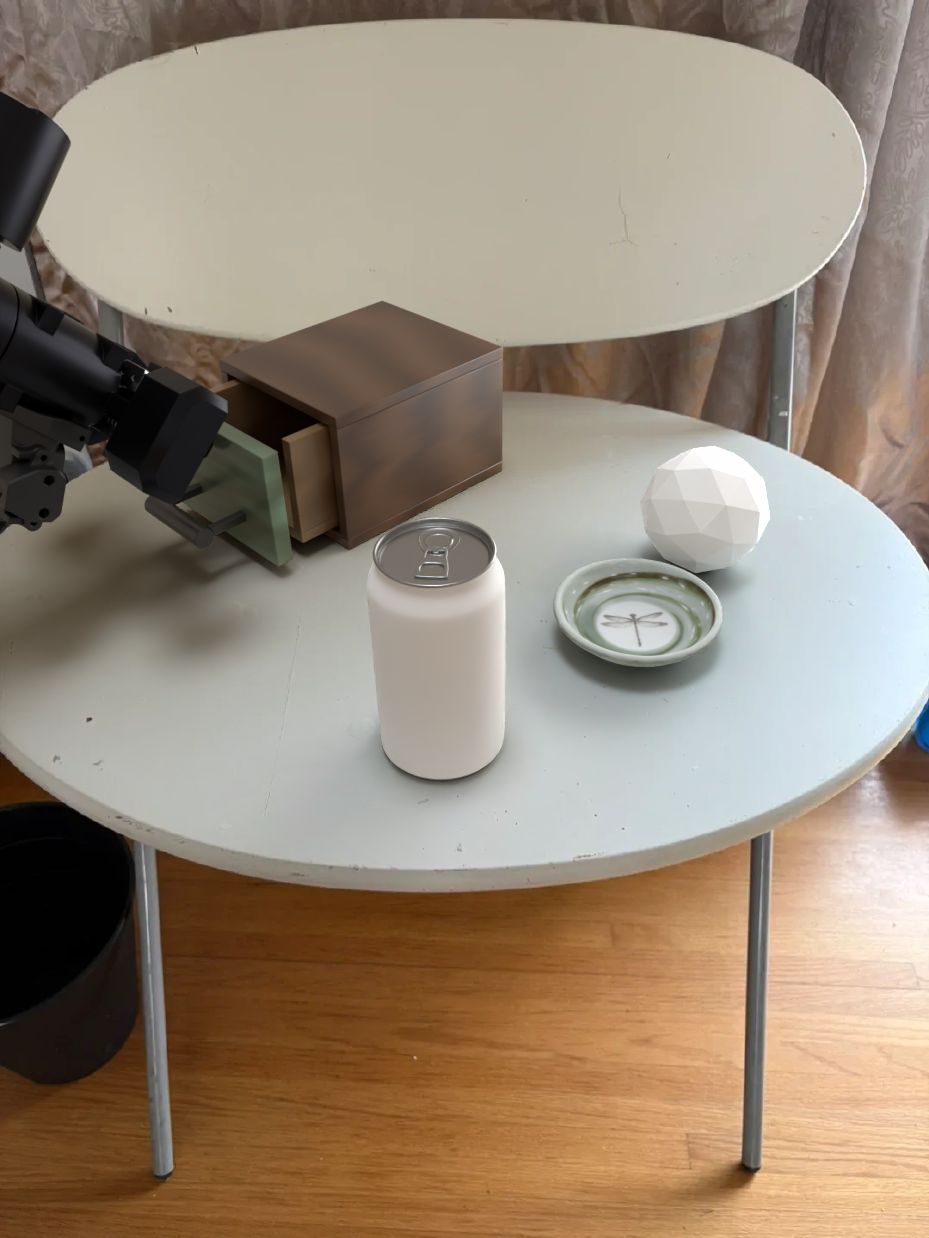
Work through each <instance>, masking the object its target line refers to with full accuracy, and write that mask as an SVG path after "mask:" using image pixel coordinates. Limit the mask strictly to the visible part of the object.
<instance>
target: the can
mask: <svg viewBox="0 0 929 1238" xmlns="http://www.w3.org/2000/svg"><path fill="white" fill-rule="evenodd" d="M372 559H373V561H372V563H371V565H370V568H369V570H368V573H367V578H366V597H367V608H368V620H369V630H370V640H371V651H372V662H373V674H374V683H375V692H376V693H375V695H376V703H377V713H378V714H377V715H378V721H379V723H378V724H379V731H380V733H379V734H380V739H381V745H382V748H383V751H384V753H385V755H386V756H387V758H388V759H389V760H390V761H391V762H392V763H393V764H394V765H395V766H397V768H399V769H401V770H403V771H404V772H406V773H408V774H410V775H412V776H414V777H417V778H419V779H425V780H430V781H452V780H458V779H462V778H465V777H468V776H471V775H473V774H475V773H476V772H479V771H480V770H482V769H483V768H485V767H486V766H487V765H489V764H490V763H491V762H492V761H493V760H494V759H495V758H496V757H497V756H498V754H499V753H500V751H501V749H502V747H503V744H504V740H505V726H506V725H505V724H506V576H505V572H504V568H503V566H502V563H501V562H500V560H499V559H498V556H497V546H496V543H495V540H494V538H493V537H492V536H491V535H490V534H489V532H487V531H486V530H485V529H483V528H482V527H480V526H479V525H477V524H474V523H472V522H470V521H467V520H463V519H460V518H453V517H445V516H443V517H442V516H434V517H433V516H431V517H421V518H416V519H412V520H408V521H404V522H401V523H399V524H397V525H396V526H394V527H392V528H390V529H388V530H386V531H384V532H383V534H382V535H381V536H379V538H378V540H377V541H376V542H375V543H374V546H373V549H372Z"/></svg>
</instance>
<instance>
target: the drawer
mask: <svg viewBox="0 0 929 1238" xmlns="http://www.w3.org/2000/svg"><path fill="white" fill-rule="evenodd" d="M207 389H208V390H210V391H212V392H214V393H215V394H217V395H219V396H220V397H222V398H224V399H225V400H227V404H228V415H227V417H226V418H225V420H224V422H223V424H222V426H221V428H220V429H219V431H218V433H217V435H216V437H215V439H214V440H213V447H212V449H211V451H210V452H209V454H208V456H207V457H206V458H204V459H203V461H202V463H201V464H200V466H199V468H198V470H197V472H196V474H195V475H194V477H193V479H192V481H191V483H190V485H189V486H188V488H187V490H186V492H185V494H184V496H183V497H182V499H181V500H179V501H177V502H175V503H173V504H171V505H170V504H168V503H165V502H163V501H161V500H159V499H156V498H154V497H152V496H150V495H148V496H147V497H146V498H145V500H144V505H143V506H144V510H145V512H146V513H148V514H149V515H151V516H152V517H153V518H155V519H157V520H158V521H159V522H161V523H162V524H163V525H165V526H166V527H168V528H169V529H171V530H172V531H173V532H174V533H176V534H178V535H179V536H181V537H182V538H183V539H185V540H187V542H189V543H190V544H192V545H193V546H195V547H196V548H198V549H200V550H201V549H203V550H204V549H207V548H209V547H210V546H211V545H212V544H213V542H214V540H215V537H216V536H218V535H220V534H222V533H224V532H225V533H227V534H228V535H230V536H232V537H234V538H235V539H236V540H238V541H239V542H241V544H244V545H245V546H246V547H248V548H249V549H251V550H253V551H254V552H256V553H257V554H259V555H260V556H262V557H263V558H264V559H266V560H268V561H269V562H271V563H272V564H273V565H275V566H277V567H281V566H283V565H285V564H288V563H289V562H291V561H293V560H294V555H293V550H292V542H291V537H292V538H294V539H296V540H297V541H299V542H300V543H303V544H304V543H306V542H308V541H310V540H312V539H314V538H316V537H318V536H320V535H323V533H324V532H326V531H328V530H330V529H332V528H334V527H336V526H338V525H340V522H339V513H338V504H337V494H336V485H335V476H334V467H333V457H332V448H331V439H330V430H329V425H327V424H325V423H323V422H321V421H319V420H317V419H315V418H313V417H311V416H309V415H307V414H305V413H304V412H302V411H300V410H298V409H296V408H294V407H292V406H290V405H288V404H286V403H284V402H282V401H280V400H278V399H276V398H274V397H272V396H270V395H269V394H267V393H265V392H263V391H261V390H259V389H257V388H255V387H253V386H251V385H249V384H247V383H245V382H243V381H241V380H239V379H234V380H232V381H229V382H226V383H224V384H223V383H221V384H218V385H215V386H214V387H211V388H207ZM181 503H182V504H183V505H185V506H186V507H188V508H189V509H191V510H193V511H194V512H196V513H197V514H198V515H200V516H202V517H203V518H204V519H207V520H208V521H209V522H211V523H209V524H208V525H206V524H205V523H203V522H202V521H200V520H199V519H197V518H195V516H192V515H191V514H190V513H189V512H187V511H185V510H184V509H183V508H181V507H179V506H178V504H181Z"/></svg>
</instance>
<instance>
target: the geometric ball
mask: <svg viewBox="0 0 929 1238" xmlns="http://www.w3.org/2000/svg"><path fill="white" fill-rule="evenodd" d="M640 509H641V514H642V521H643V527H644V531H645V534H646V535H647V538H648V540H649V541H650V542H651V543H652V545H653V546H654V547H655V549H656V550H657V552H658V553H659V554H660V556H661V557H662V559H664V560H666V561H668V562H670V563H673V564H674V565H675V566H678V567H680V568H682V569H684V570H686V571H688V572H691V573H694V574H697V573H703V572H704V573H705V572H709V571H716V570H721V569H728V568H730V567H732V566H733V565H735V564H737V563H738V562H739V561H740V560H742V559H743V558H745V557H746V556H747V555H748V554H750V553H752V552H753V550H754V549H755V548H756V546H757V545H758V543H759V541H760V540H761V537H762V536H763V534H764V531H765V529H766V528H767V525H768V523H769V522H770V520H771V513H770V512H771V511H770V507H769V501H768V496H767V490H766V485H765V480H764V478H763V477H762V476H760V474H759V473H758V472H757V471H756V470H755V469H754V468H753V467H752V466H751V465H750V464H749V463H748V462H747V461H746V460H745V459H743V458H742V457H740V456H739V455H737V454H735V452H732V451H729V450H727V449H723V448H721V447H718V446H715V445H712V446H704V447H703V446H702V447H695V448H690V449H689V450H686V451H683V452H681V453H679V454H678V455H676V456H674V457H672V458H671V459H669V460H668V461H666V462H664V463H663V464H661V465H659V466H658V467H656V469H655V471H654V472H653V475H652V477H651V479H650V481H649V483H648V485H647V486H646V489H645V491H644V493H643V495H642V498H641V499H640Z"/></svg>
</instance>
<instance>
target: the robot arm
mask: <svg viewBox="0 0 929 1238" xmlns="http://www.w3.org/2000/svg"><path fill="white" fill-rule="evenodd" d="M71 144H72V141H71V139H70V137H69V135H68V134H67V133H66V132H65V131H64V129H63V128H62V127H61V126H60V125H59V124H58V123H56V121H54V120H53V119H52V118H51V117H49V116H48V115H47V114H46V113H45V112H43V111H41V110H40V109H37V108H35V107H29V106H27V105H26V104H24V103H22V102H21V101H19V100H17V99H15V98H13V97H12V96H10V95H8V94H6V93H4V92H3V91H2V90H0V250H1V248H2V246H1V244H2V245H3V246H6V247H7V248H9V249H11V250H14V251H16V252H18V253H22V252H23V249H25V248H27V247H28V244H29V242H30V240H31V238H32V236H33V233H34V232H35V228H36V226H37V224H38V221H39V220H40V217H41V215H42V212H43V210H44V208H45V206H46V203H47V201H48V199H49V197H50V194H51V192H52V189H53V187H54V185H55V183H56V180H57V178H58V176H59V173H60V171H61V169H62V167H63V165H64V162H65V160H66V158H67V155H68V153H69V151H70V148H71V146H72V145H71ZM208 389H209V388H207V387H205V386H203V385H202V384H200V383H198V382H196V381H195V380H193V379H191V378H189V377H187V376H185V375H183V374H182V373H180V372H178V371H176V370H174V369H172V368H171V367H169V366H164V367H163V366H161V365H159V364H158V363H156V362H153V361H150V362H149V363H148V364H147V363H146V361H145V360H144V358H142V357H141V356H140V354H139V353H137V352H135V351H133V350H132V349H130V348H128V347H126V346H124V345H122V344H120V343H119V342H115V341H113V340H112V339H110V338H107V337H105V336H104V335H102V334H100V333H98V332H97V331H94V330H92V329H91V328H89V327H87V326H86V324H85V322H83V321H82V320H80V319H79V318H77V317H75V316H74V315H72V314H70V313H68V312H67V311H65V310H63V309H61V308H59V307H57V306H55V305H54V304H52V303H50V302H48V301H47V300H44V299H42V298H41V297H36V296H35V295H33V294H31V293H29V292H27V291H25V290H24V289H22V288H20V287H19V286H16V285H15V284H14V283H12V282H10V281H8V280H7V279H4V278H3V277H2V276H0V522H6V523H7V524H8V525H18V526H22V527H24V528H25V529H26V530H27V531H29V532H36V531H38V530H39V529H41V527H42V526H43V523H49V524H50V523H52V522H55V521H56V520H57V519H58V518H59V517H60V516H61V515H62V513H63V512H62V510H63V506H64V499H65V493H66V488H67V481H68V479H67V477H66V476H65V474H64V467H65V462H66V449H65V447H68V448H70V449H72V450H74V451H77V452H79V453H81V452H82V450H83V448H84V446H85V445H87V446H95V445H96V444H100V443H103V442H106V441H107V442H106V443H105V445H104V447H103V449H102V451H101V452H100V455H101V456H103V457H104V458H105V459H107V463H108V467H109V470H110V471H111V472H112V473H114V474H116V475H117V476H118V477H120V478H121V479H123V480H124V481H126V482H127V483H129V484H130V485H132V487H135V488H136V489H138V490H139V491H140V492H142V493H143V494H145V495H148V496H152V497H154V498H156V499H159V500H161V501H163V502H165V503H168V504H170V505H171V504H173V503H175V502H177V501H179V500H181V499H182V497H183V496H184V494H185V492H186V490H187V488H188V486H189V485H190V483H191V481H192V479H193V477H194V475H195V474H196V472H197V470H198V468H199V466H200V464H201V463H202V461H203V459H204V458H206V457H207V456H208V454H209V452H210V451H211V449H212V447H213V440H214V439H215V437H216V435H217V433H218V431H219V429H220V428H221V426H222V424H223V422H224V420H225V418H226V417H227V415H228V404H227V400H225V399H224V398H222V397H220V396H219V395H217V394H215V393H214V392H212V391H210V390H208Z"/></svg>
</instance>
